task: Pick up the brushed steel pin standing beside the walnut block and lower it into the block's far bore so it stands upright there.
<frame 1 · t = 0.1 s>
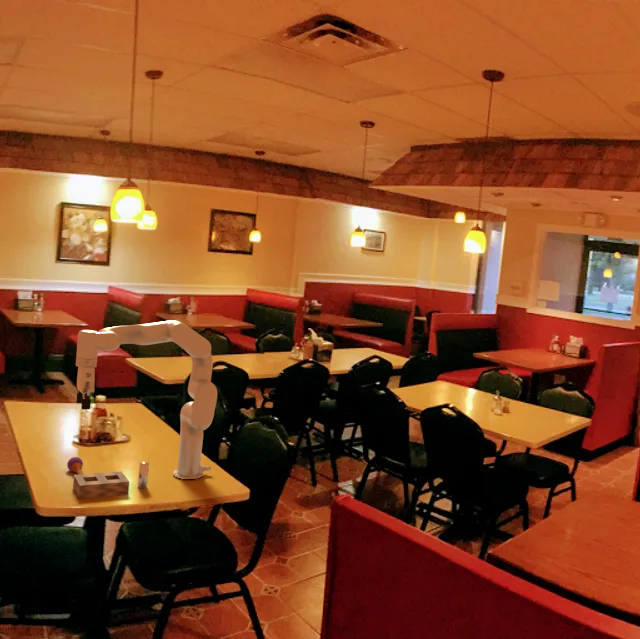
hand: (83, 406, 249), 31 cm above the table, tool pointing down, fingers open, 9 cm apart
steel pin: (142, 487, 256), on the table
kendama: (78, 477, 261), on the table
walnut block: (100, 490, 248), on the table
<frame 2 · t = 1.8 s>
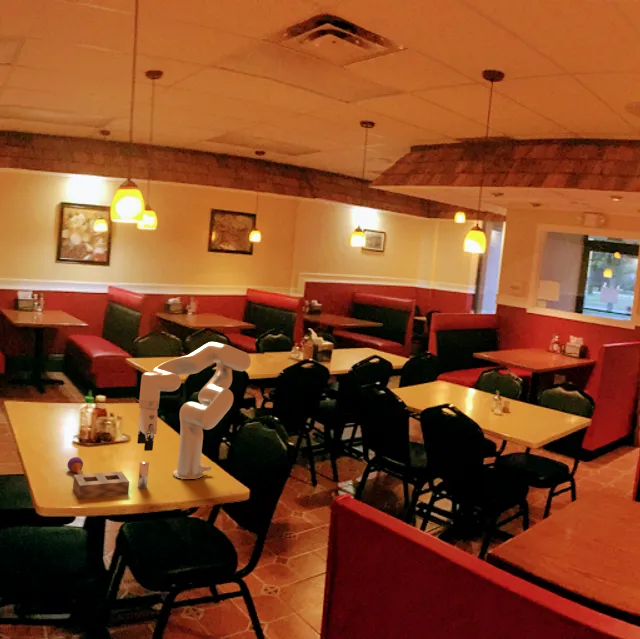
hand: (144, 446, 254), 16 cm above the table, tool pointing down, fingers open, 9 cm apart
nothing on the table moved.
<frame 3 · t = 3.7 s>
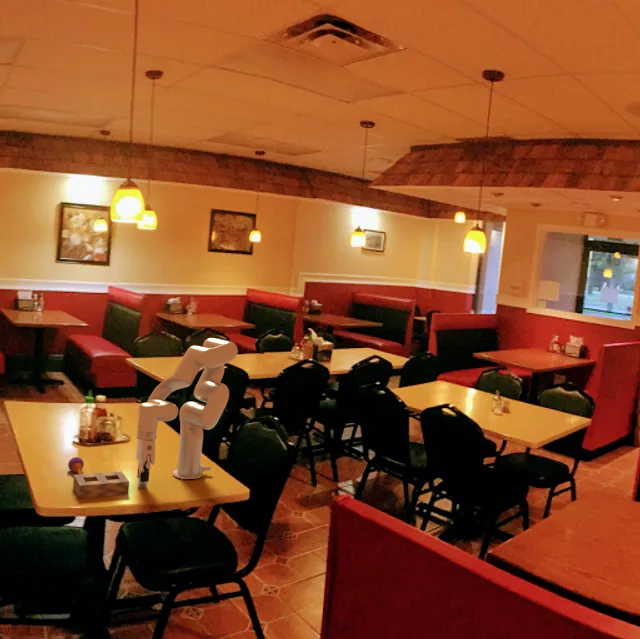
hand: (142, 479, 256), 3 cm above the table, tool pointing down, fingers closed on steel pin, 3 cm apart
steel pin: (142, 487, 256), on the table, touching gripper
everything else where it was.
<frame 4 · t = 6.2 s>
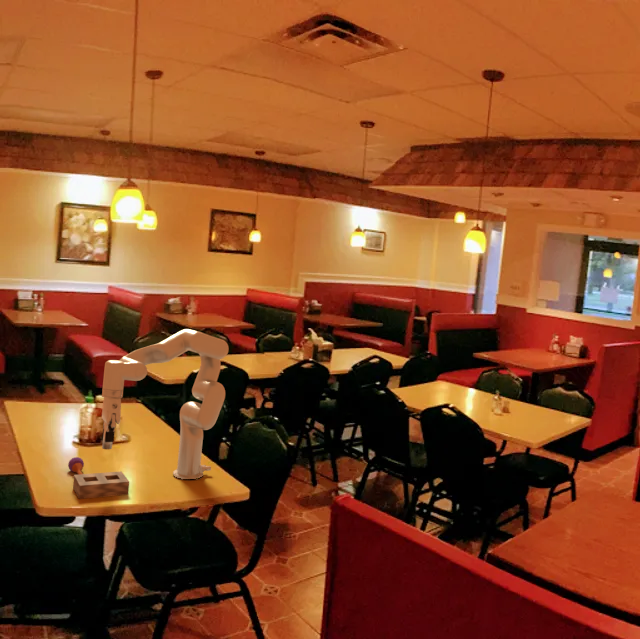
hand: (107, 439, 247), 20 cm above the table, tool pointing down, fingers closed on steel pin, 3 cm apart
steel pin: (107, 448, 247), point 17 cm above the table, touching gripper
everything else where it was.
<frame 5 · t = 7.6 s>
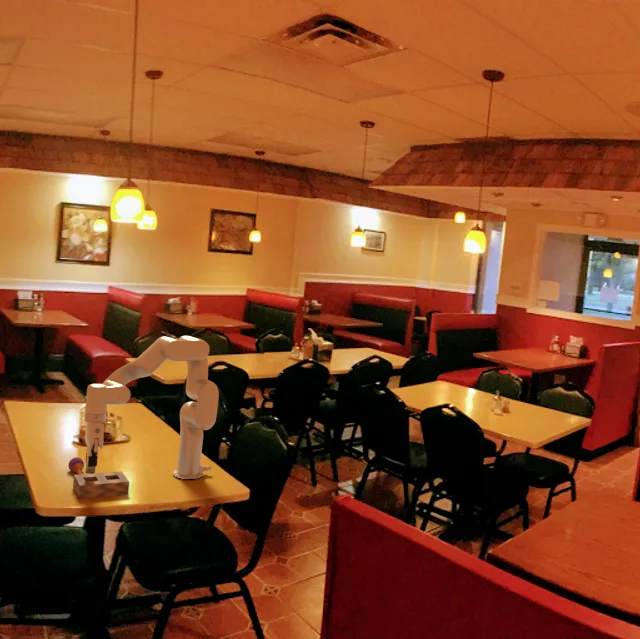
hand: (91, 464, 245), 11 cm above the table, tool pointing down, fingers closed on steel pin, 3 cm apart
steel pin: (90, 472, 245), point 8 cm above the table, touching gripper
everything else where it was.
when the fingers open (6 cm above the table, at t = 8.9 s): steel pin drops 1 cm, resting on walnut block.
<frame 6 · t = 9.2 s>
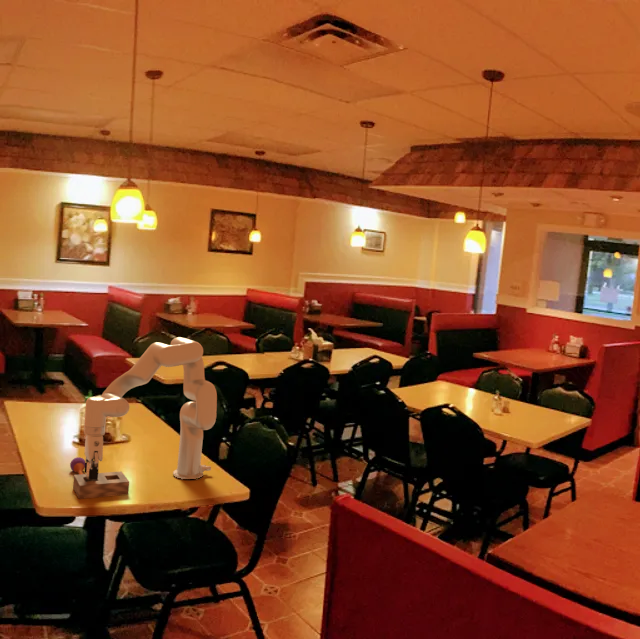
hand: (91, 475, 245), 6 cm above the table, tool pointing down, fingers open, 7 cm apart
steel pin: (90, 487, 246), point 2 cm above the table, touching walnut block
everything else where it was.
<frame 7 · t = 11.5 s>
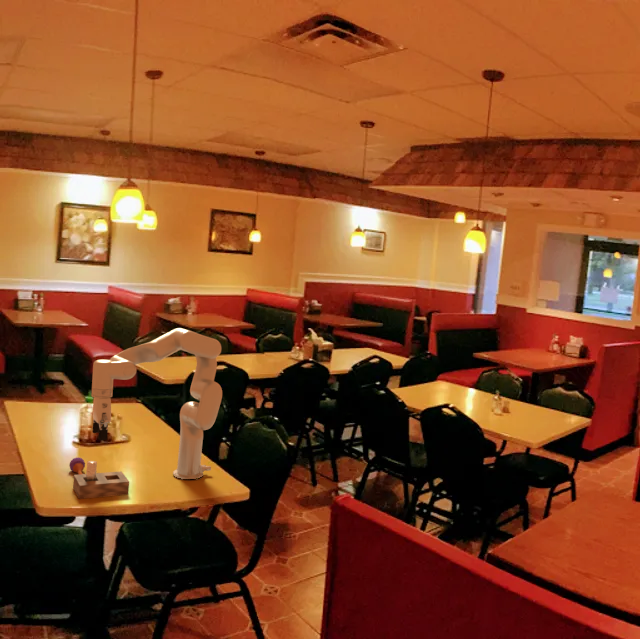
hand: (99, 436, 247), 21 cm above the table, tool pointing down, fingers open, 9 cm apart
nothing on the table moved.
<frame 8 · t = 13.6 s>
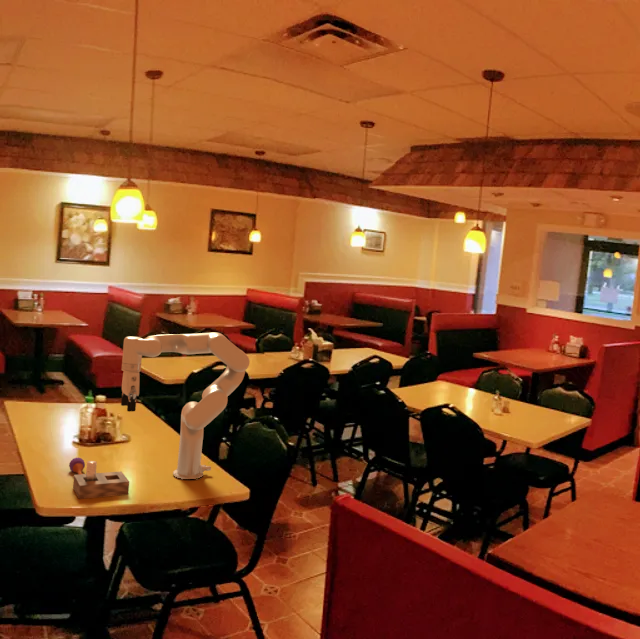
hand: (128, 408, 264), 28 cm above the table, tool pointing down, fingers open, 9 cm apart
nothing on the table moved.
at the end: steel pin 0.0 cm from the target spot on the walnut block, point 1.5 cm above the walnut block's base; steel pin tilted 0°; the gripper is holding nothing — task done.
